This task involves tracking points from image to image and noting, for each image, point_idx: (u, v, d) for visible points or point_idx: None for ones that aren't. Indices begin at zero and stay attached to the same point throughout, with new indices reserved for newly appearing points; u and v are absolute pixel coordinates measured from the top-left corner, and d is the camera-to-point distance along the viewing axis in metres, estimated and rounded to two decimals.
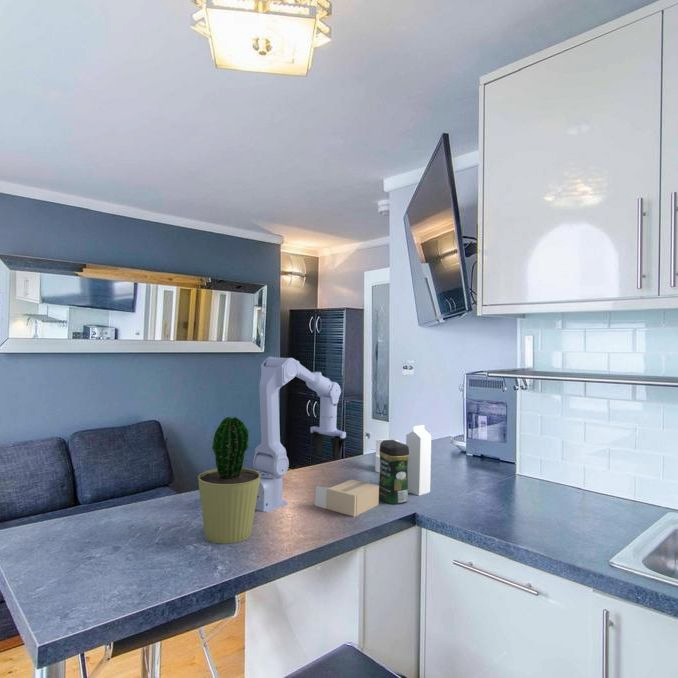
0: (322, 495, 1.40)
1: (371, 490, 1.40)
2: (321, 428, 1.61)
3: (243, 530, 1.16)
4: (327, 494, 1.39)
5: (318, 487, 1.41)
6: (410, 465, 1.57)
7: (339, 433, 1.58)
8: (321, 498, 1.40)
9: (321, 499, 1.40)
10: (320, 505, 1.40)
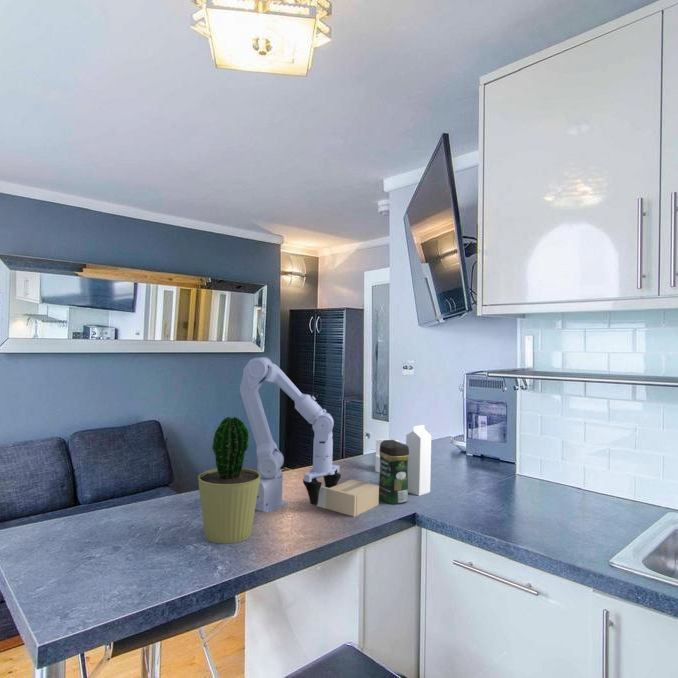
0: (322, 495, 1.40)
1: (371, 490, 1.40)
2: None
3: (243, 530, 1.16)
4: (327, 494, 1.39)
5: None
6: (410, 465, 1.57)
7: None
8: (321, 498, 1.40)
9: (321, 499, 1.40)
10: (320, 505, 1.40)
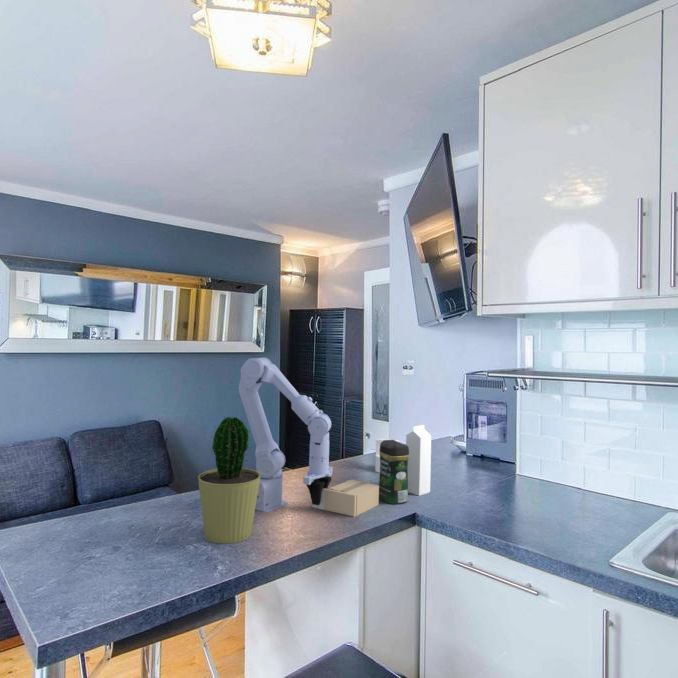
0: None
1: (371, 490, 1.40)
2: None
3: (243, 530, 1.16)
4: (325, 495, 1.38)
5: None
6: (410, 465, 1.57)
7: None
8: None
9: None
10: (317, 506, 1.39)
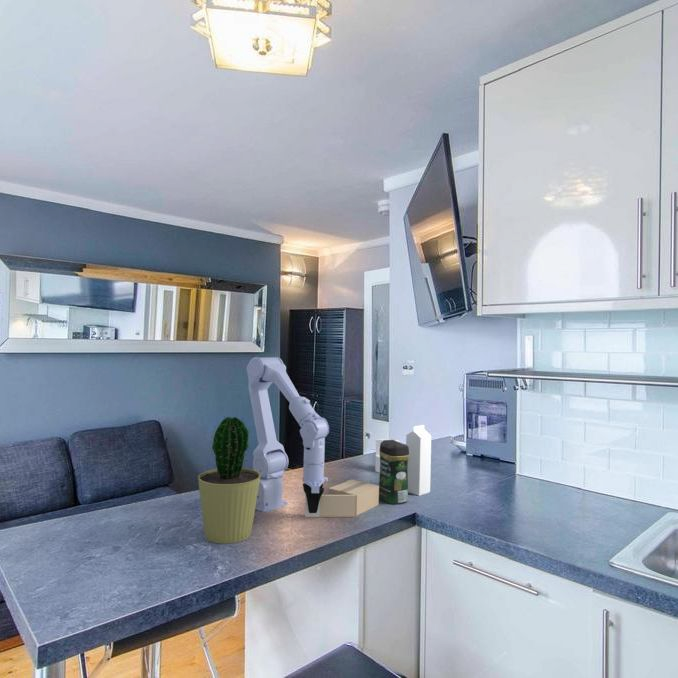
0: None
1: (371, 490, 1.40)
2: (303, 475, 1.32)
3: (243, 530, 1.16)
4: (321, 501, 1.32)
5: None
6: (410, 465, 1.57)
7: (311, 486, 1.26)
8: None
9: None
10: (312, 515, 1.32)
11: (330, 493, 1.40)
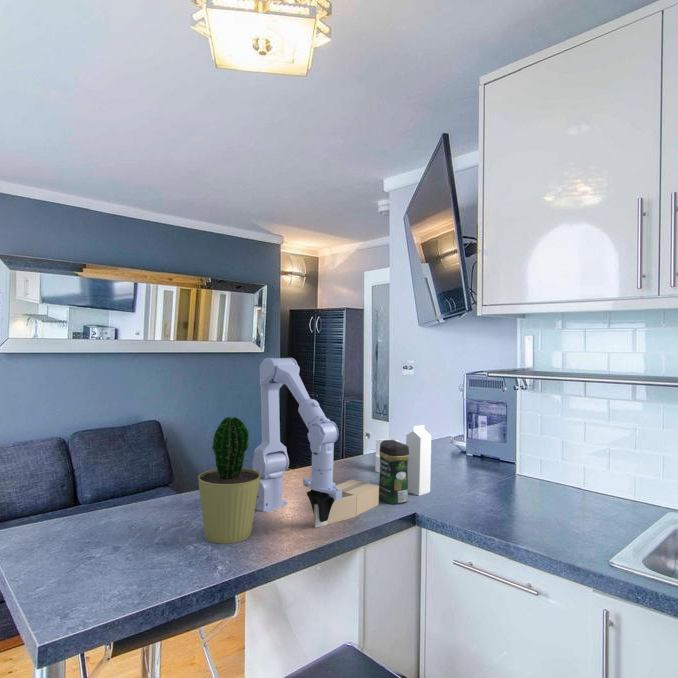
0: None
1: (371, 490, 1.40)
2: (312, 483, 1.25)
3: (243, 530, 1.16)
4: None
5: None
6: (410, 465, 1.57)
7: (332, 493, 1.21)
8: None
9: None
10: (321, 524, 1.26)
11: None
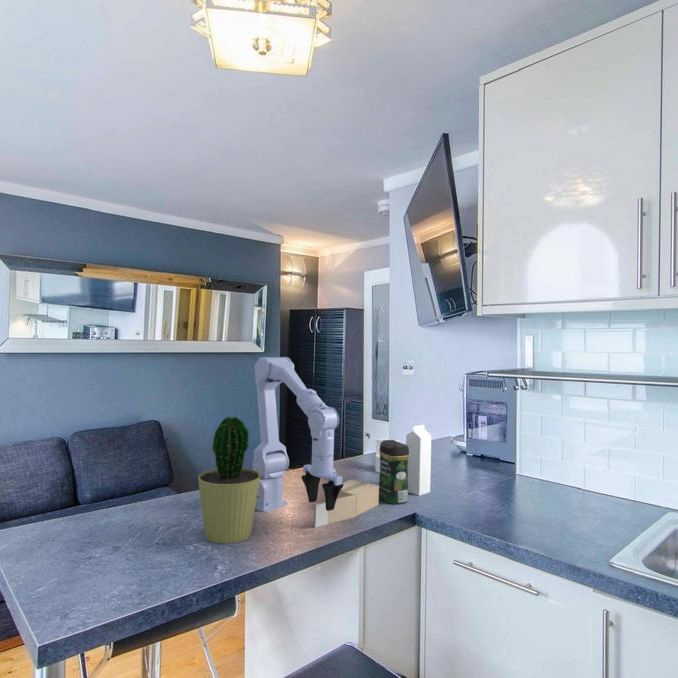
0: (323, 512, 1.26)
1: (371, 490, 1.40)
2: (312, 469, 1.25)
3: (243, 530, 1.16)
4: None
5: (319, 505, 1.25)
6: (410, 465, 1.57)
7: (333, 478, 1.21)
8: (322, 516, 1.26)
9: (322, 517, 1.26)
10: (321, 524, 1.26)
11: None
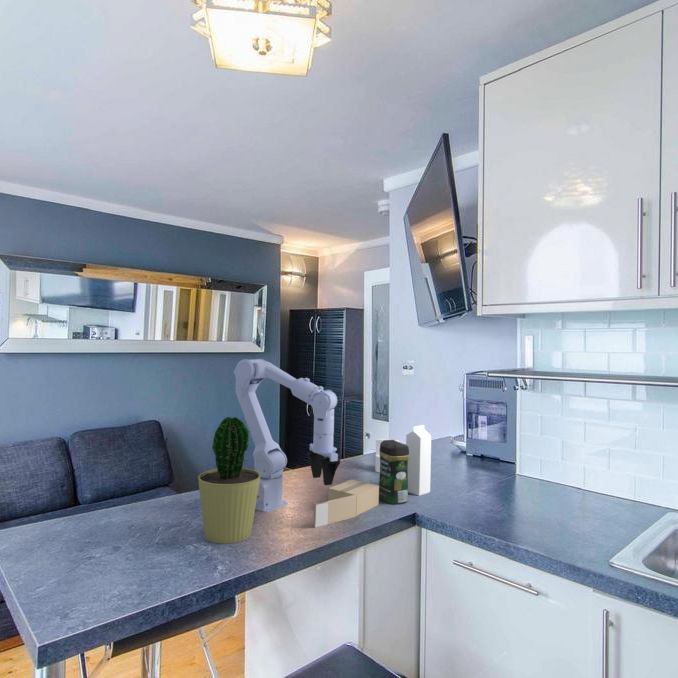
0: (323, 512, 1.26)
1: (371, 490, 1.40)
2: (313, 447, 1.35)
3: (243, 530, 1.16)
4: (329, 507, 1.27)
5: (319, 505, 1.25)
6: (410, 465, 1.57)
7: (329, 455, 1.30)
8: (322, 516, 1.26)
9: (322, 517, 1.26)
10: (321, 524, 1.26)
11: (330, 493, 1.40)
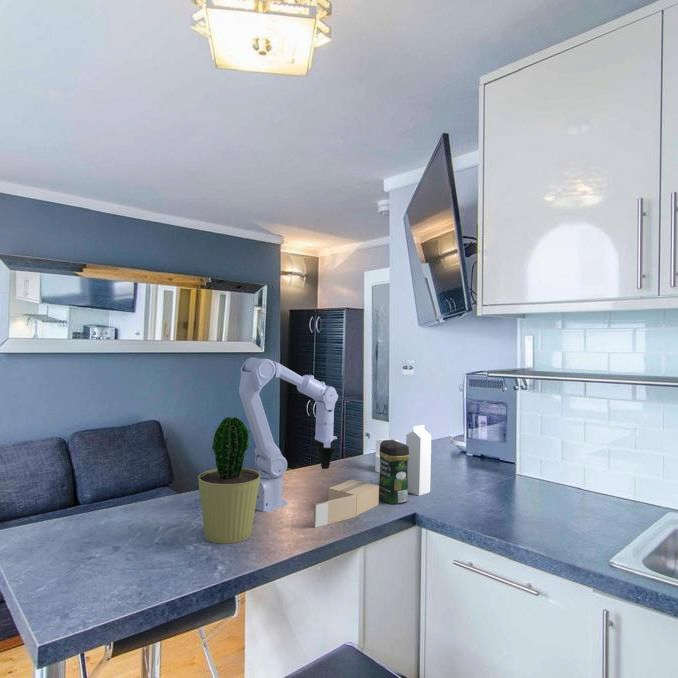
0: (323, 512, 1.26)
1: (371, 490, 1.40)
2: None
3: (243, 530, 1.16)
4: (329, 507, 1.27)
5: (319, 505, 1.25)
6: (410, 465, 1.57)
7: (323, 441, 1.46)
8: (322, 516, 1.26)
9: (322, 517, 1.26)
10: (321, 524, 1.26)
11: (330, 493, 1.40)
